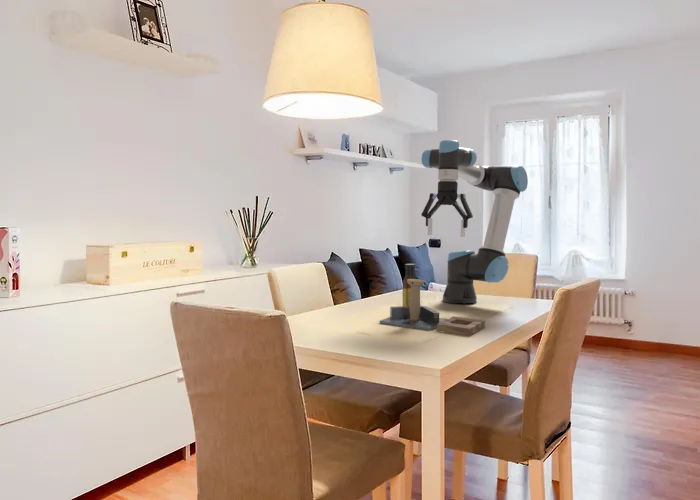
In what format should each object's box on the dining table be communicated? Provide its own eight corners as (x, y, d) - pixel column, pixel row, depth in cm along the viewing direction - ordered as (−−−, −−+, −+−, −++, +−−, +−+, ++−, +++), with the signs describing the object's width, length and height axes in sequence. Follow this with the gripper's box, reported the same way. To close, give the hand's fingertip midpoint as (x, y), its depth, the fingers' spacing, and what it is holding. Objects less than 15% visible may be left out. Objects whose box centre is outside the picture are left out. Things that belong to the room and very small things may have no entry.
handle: (418, 322, 208) (420, 281, 206) (403, 319, 212) (404, 279, 210) (425, 320, 212) (426, 280, 210) (410, 317, 216) (411, 278, 214)
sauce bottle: (420, 313, 230) (422, 264, 229) (413, 315, 225) (415, 265, 223) (406, 311, 234) (407, 262, 232) (398, 313, 229) (400, 264, 227)
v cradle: (401, 315, 225) (401, 302, 225) (449, 321, 215) (449, 308, 214) (379, 323, 210) (380, 310, 209) (430, 330, 199) (430, 316, 199)
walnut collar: (453, 322, 213) (453, 316, 213) (484, 327, 207) (485, 320, 207) (436, 331, 199) (437, 324, 199) (470, 335, 193) (470, 328, 193)
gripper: (414, 180, 224) (412, 234, 226) (476, 180, 211) (473, 237, 213) (422, 181, 230) (420, 233, 232) (482, 181, 218) (480, 236, 220)
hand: (445, 235), depth 223 cm, fingers open, 13 cm apart
